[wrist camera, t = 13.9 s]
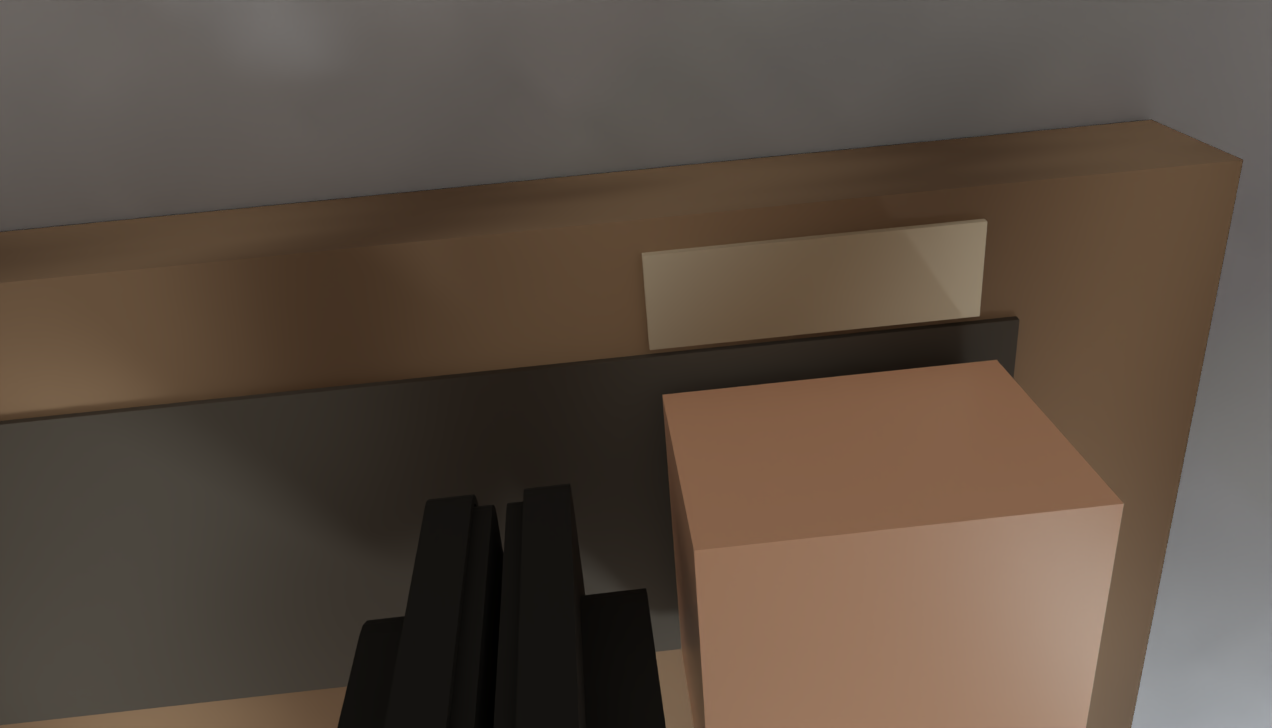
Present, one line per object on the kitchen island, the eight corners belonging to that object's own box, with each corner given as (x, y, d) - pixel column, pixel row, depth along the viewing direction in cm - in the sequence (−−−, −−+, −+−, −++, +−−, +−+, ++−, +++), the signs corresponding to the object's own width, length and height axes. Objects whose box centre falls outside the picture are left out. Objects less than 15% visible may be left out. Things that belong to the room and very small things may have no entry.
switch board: (1151, 120, 13) (1248, 161, 12) (1031, 900, 21) (1079, 1005, 19) (-555, 285, 13) (-745, 359, 11) (-61, 1033, 20) (-125, 1155, 18)
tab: (997, 359, 12) (1123, 503, 9) (972, 620, 14) (1073, 803, 11) (662, 395, 12) (694, 550, 9) (681, 653, 14) (713, 845, 11)
